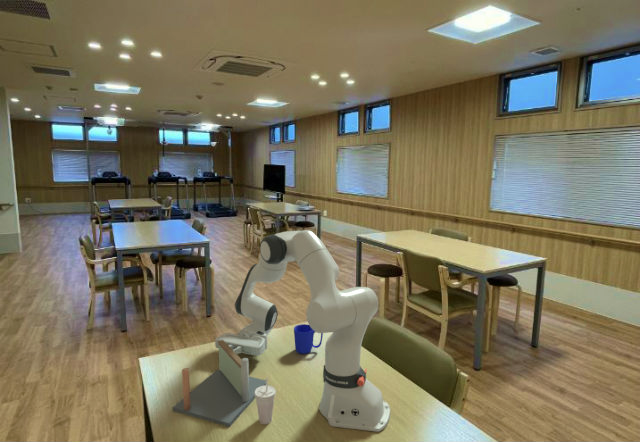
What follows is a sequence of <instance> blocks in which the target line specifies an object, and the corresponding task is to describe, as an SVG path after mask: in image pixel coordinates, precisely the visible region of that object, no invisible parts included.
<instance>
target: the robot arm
mask: <svg viewBox="0 0 640 442" xmlns="http://www.w3.org/2000/svg"><path fill="white" fill-rule="evenodd" d="M259 252H260V255H259V259H258V263H255V264H253V265H252V266H251V267H250V268H249V269H248V272H247V273H246V276H245V279H244V281H243V284H242V287H241V290H240V292H239V294H238V296H237V298H236V300H235V302H234V308H235V312H236V313H237V314H238V315H241V316H243V317H246V318H248V319H250V320H251V322H250V323H249V324H247V325H245V326H244V327H243V328H242V329H240V330H239V331H238V333H237V334H236V333H231V332H225V333H223V334H220V335H219V336H217V337H216V338H215V340H214V345H215V346H214V347H215V348H216V349H219V344H218V341H220V340H224V342H225V343H226V344H227V345H228V346H229V347H230V348H231V349H232V350H233V351H234V352H235V353H236V354H237V355H238V354H245V355H249V356H255V357H259V356H261V355H263V354H264V353H265V351H266V350H267V349H268V335H269V334H270V333H271V331H272V330H273V328H274V326H275V325H276V322H277V319H278V315H279V313H278V308H277V305H275V304H274V303H272V302H270V301H268V300H265V299H264V298H262V297H260V296H257V295H256V294H255V293H254V289H255V287H256V284H257V283H262V284H263V283H265V284H271V283H272V284H273V283H276V282H278V281H280V280H281V279H282V278H283V277H284V275H285V273H286V271H287V268H288V263H290V262H292V263H293V262H296V264H297V265H298V268H300V271H301V272H302V274H303V276H304V278H305V280H306V282H307V284H308V287H309V290H310V299H309V300H310V301H309V303H308V305H307V307H306V311H305V312H306V313H305V316H306V321H307V325H309V326H310V327H311V328H312V329H313V330H314V331H315V333H317V334H321V333H323V334H326V333H327V334H328V333H331V334H330V336H329V337H328V338H327V340H326V341H325V347H324V351H325V352H324V353H325V354H324V365H323V371H322V372H323V373H322V378H323V379H322V380H323V388H322V389H323V390H322V396H321V399H320V402H319V406H318V407H319V408H318V409H319V412H320V413H321V415H322V416H323V417H324V418H326V420H327V423H328V425H329V426H331V427H334V428H344V429H352V430H361V431H368V432H370V431H371V432H381V431H383V430H385V428H386V427H387V425H388V423H389V421H390V417H391V407H390V405H389V404H388V402H387V401H384V397H383V395H382V394H383V393H382V391H381V390H380V389H379V387H377V386H375V385H374V384H373V383H372V382H371V381H369V379H367V370H368V369H367V368H364V369H363V368H362V367H361V353H362V351H361V350H362V343H363V339H364V336H365V334H366V331H367V329H368V326H369V324H370V321H371V320H372V319H373V317H374V315H376V313H377V312H378V310H379V299H378V296H377V294H376V292H375V291H374V290H373V289H372V288H370V287H367V286H353V287H351V288H350V287H349V288H346V289H343V290H340V289H339V288H338V287H337V285H336V281H337V279H338V278H339V276H340V267H339V265H338V264H337V262H336V261H335V259H334V258H333V256H332V254H331V253H330V252H329V250H328V248H327V247H326V245H325V243H324V242H323V241H322V240H321V239H320V238H319V237H318V236H317V235H316V233H314V232H313V231H312V230H310V229H300V230H290V231H282V232H277V233H275V234H268V235H266V236H264V237H263V238H262V239H261V241H260V244H259Z"/></svg>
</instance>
